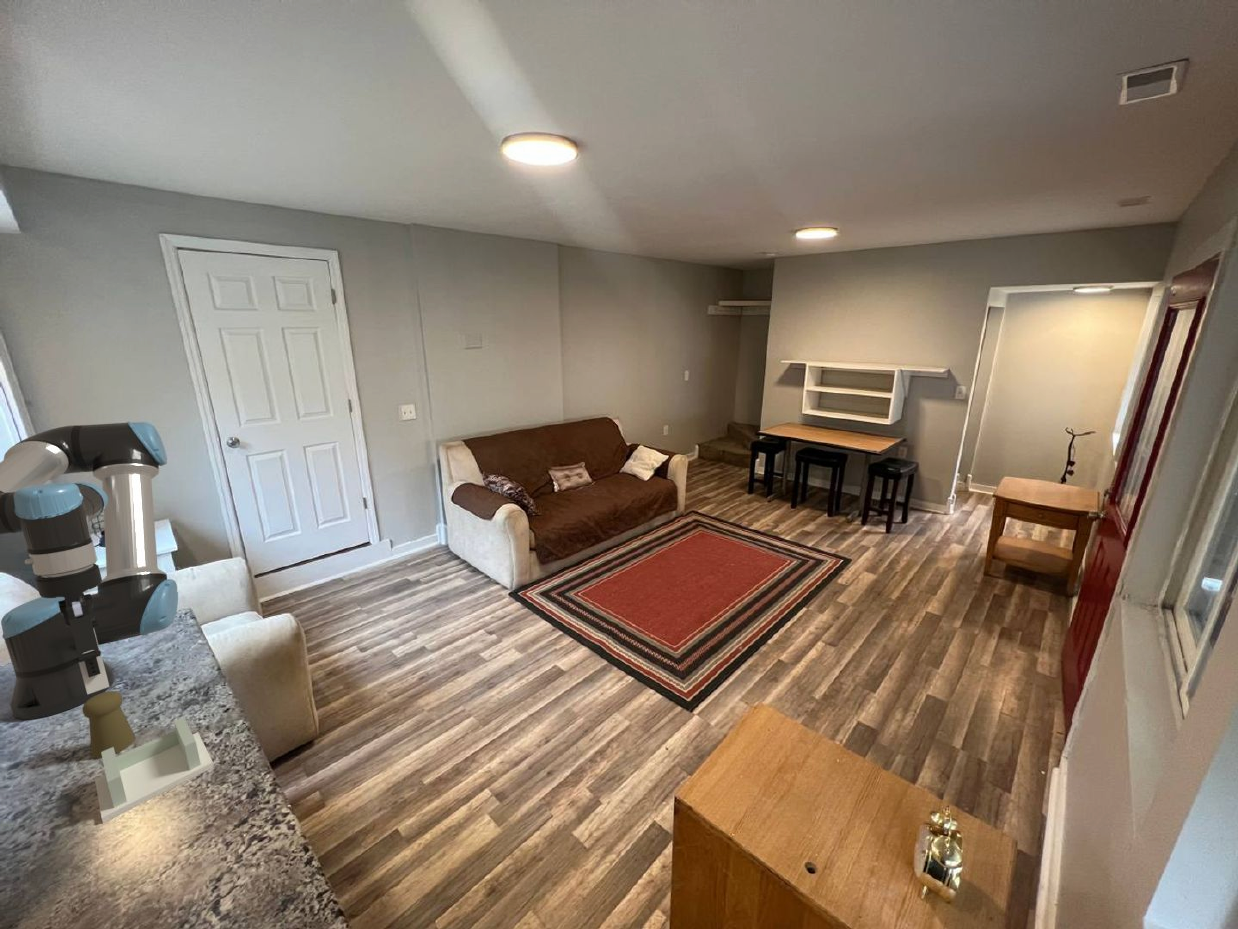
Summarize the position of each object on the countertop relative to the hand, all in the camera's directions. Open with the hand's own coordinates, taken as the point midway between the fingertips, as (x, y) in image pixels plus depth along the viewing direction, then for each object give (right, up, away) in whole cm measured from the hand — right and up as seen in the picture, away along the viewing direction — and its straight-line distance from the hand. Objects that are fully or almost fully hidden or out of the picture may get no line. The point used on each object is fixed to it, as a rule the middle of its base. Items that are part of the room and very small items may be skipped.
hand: (94, 675), depth 89 cm
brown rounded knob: (0, -15, +3) cm, 16 cm away
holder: (+15, -16, -4) cm, 22 cm away
